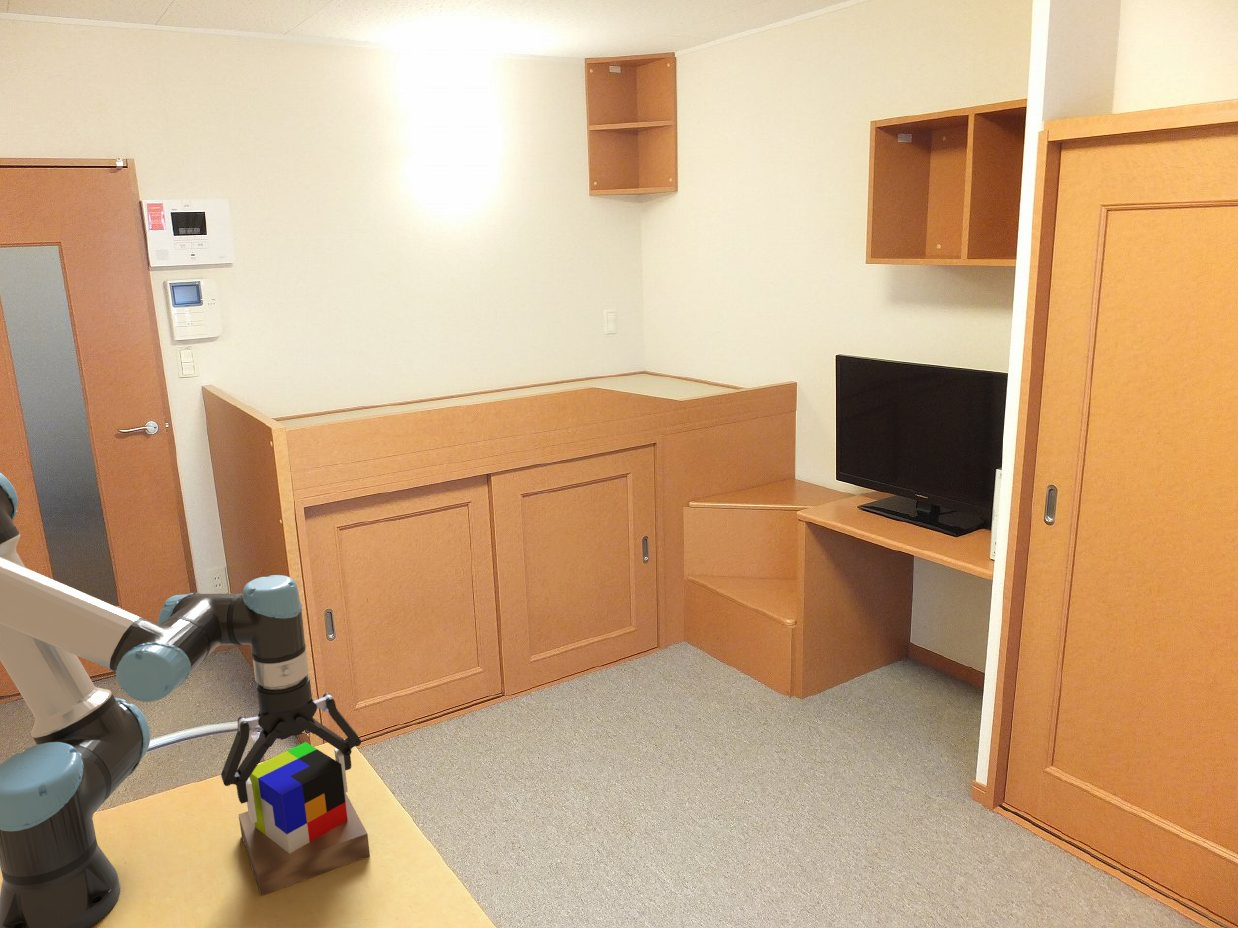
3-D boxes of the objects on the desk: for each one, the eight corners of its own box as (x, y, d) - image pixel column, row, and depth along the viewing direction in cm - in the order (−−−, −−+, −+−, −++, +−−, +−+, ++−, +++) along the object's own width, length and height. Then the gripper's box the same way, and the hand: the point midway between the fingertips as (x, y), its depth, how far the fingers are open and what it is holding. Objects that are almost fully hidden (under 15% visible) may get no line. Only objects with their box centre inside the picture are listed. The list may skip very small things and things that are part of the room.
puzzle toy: (289, 853, 137) (281, 794, 135) (255, 826, 144) (246, 770, 141) (347, 820, 145) (341, 763, 142) (312, 796, 151) (305, 741, 148)
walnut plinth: (261, 895, 134) (257, 872, 133) (241, 835, 148) (238, 814, 147) (369, 855, 142) (367, 833, 141) (342, 802, 156) (339, 781, 155)
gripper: (195, 713, 128) (216, 844, 134) (372, 666, 141) (385, 788, 146) (188, 690, 135) (208, 817, 140) (359, 647, 147) (371, 765, 152)
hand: (299, 802), depth 143 cm, fingers open, 13 cm apart
